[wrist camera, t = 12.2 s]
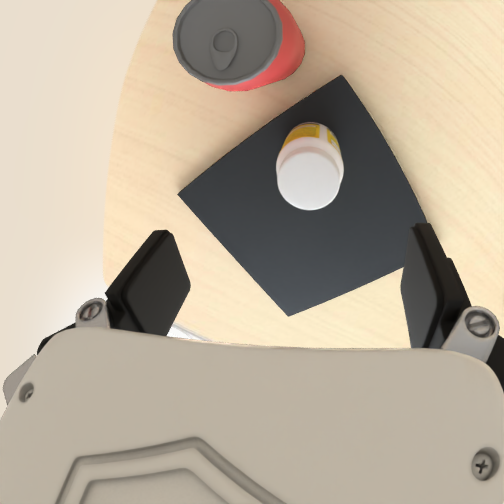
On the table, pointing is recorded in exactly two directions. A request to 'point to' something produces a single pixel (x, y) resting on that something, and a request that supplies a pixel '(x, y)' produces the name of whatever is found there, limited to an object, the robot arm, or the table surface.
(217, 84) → the beer can
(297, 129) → the supplement bottle
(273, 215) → the mat
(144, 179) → the table surface
